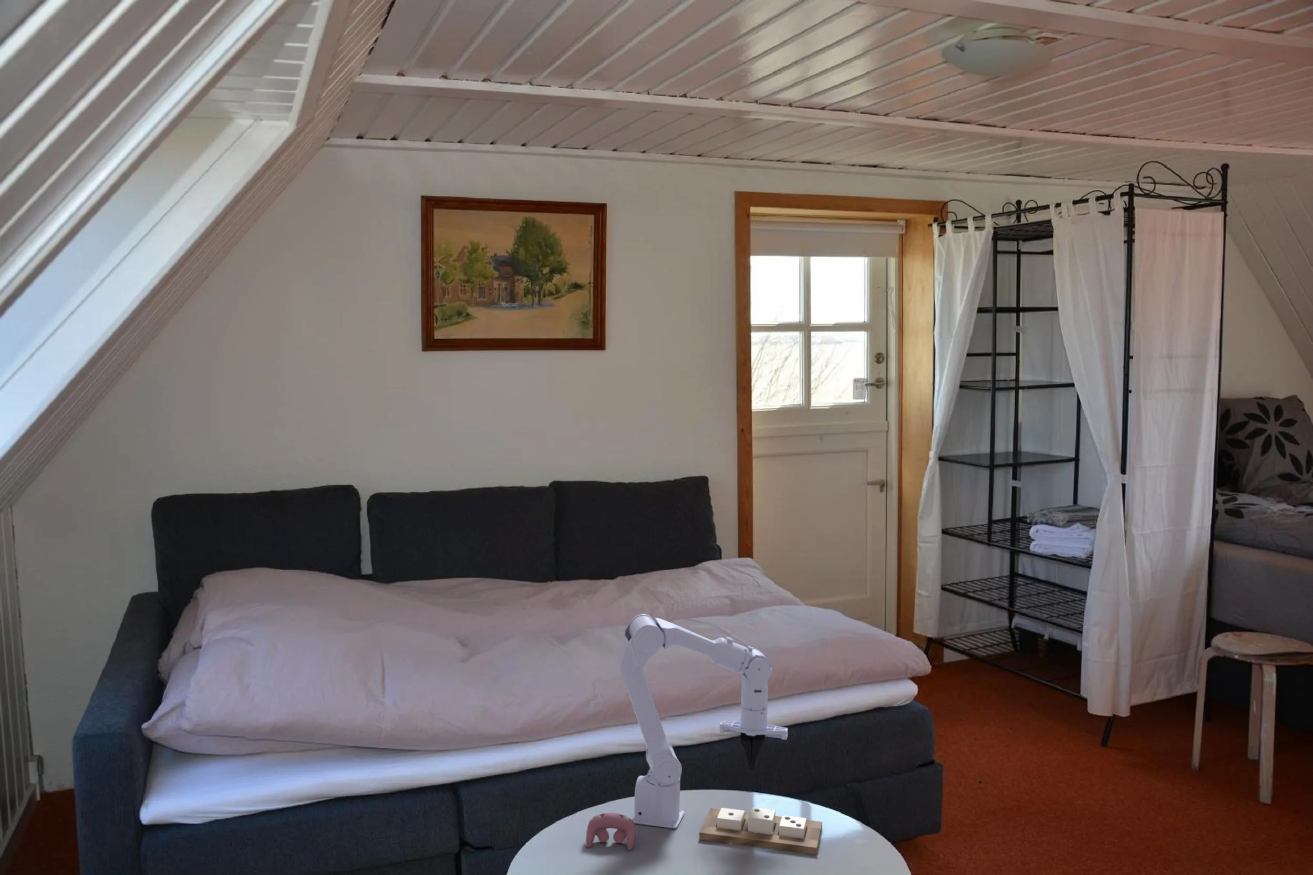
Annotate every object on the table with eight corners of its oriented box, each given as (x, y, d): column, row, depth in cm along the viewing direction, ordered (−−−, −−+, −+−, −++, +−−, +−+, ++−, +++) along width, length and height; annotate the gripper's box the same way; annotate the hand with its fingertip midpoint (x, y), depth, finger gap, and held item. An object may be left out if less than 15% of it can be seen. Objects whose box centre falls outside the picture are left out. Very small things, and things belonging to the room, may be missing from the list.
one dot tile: (716, 831, 221) (717, 817, 221) (721, 821, 226) (721, 807, 226) (740, 834, 220) (740, 820, 219) (744, 824, 225) (744, 810, 224)
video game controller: (634, 850, 216) (637, 814, 219) (632, 850, 212) (635, 813, 215) (587, 847, 217) (589, 811, 220) (584, 847, 213) (586, 810, 216)
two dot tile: (747, 831, 219) (748, 816, 219) (751, 820, 224) (751, 806, 224) (771, 834, 218) (772, 819, 218) (775, 823, 223) (775, 809, 223)
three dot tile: (779, 839, 218) (779, 824, 218) (782, 828, 223) (782, 814, 222) (803, 842, 217) (803, 828, 216) (806, 831, 221) (806, 817, 221)
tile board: (699, 839, 218) (699, 832, 218) (710, 814, 230) (710, 807, 230) (816, 854, 213) (816, 847, 212) (822, 828, 224) (822, 821, 224)
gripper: (717, 708, 227) (716, 770, 228) (785, 715, 223) (783, 778, 224) (723, 698, 233) (722, 758, 235) (789, 704, 230) (787, 765, 231)
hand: (752, 767), depth 230 cm, fingers closed
